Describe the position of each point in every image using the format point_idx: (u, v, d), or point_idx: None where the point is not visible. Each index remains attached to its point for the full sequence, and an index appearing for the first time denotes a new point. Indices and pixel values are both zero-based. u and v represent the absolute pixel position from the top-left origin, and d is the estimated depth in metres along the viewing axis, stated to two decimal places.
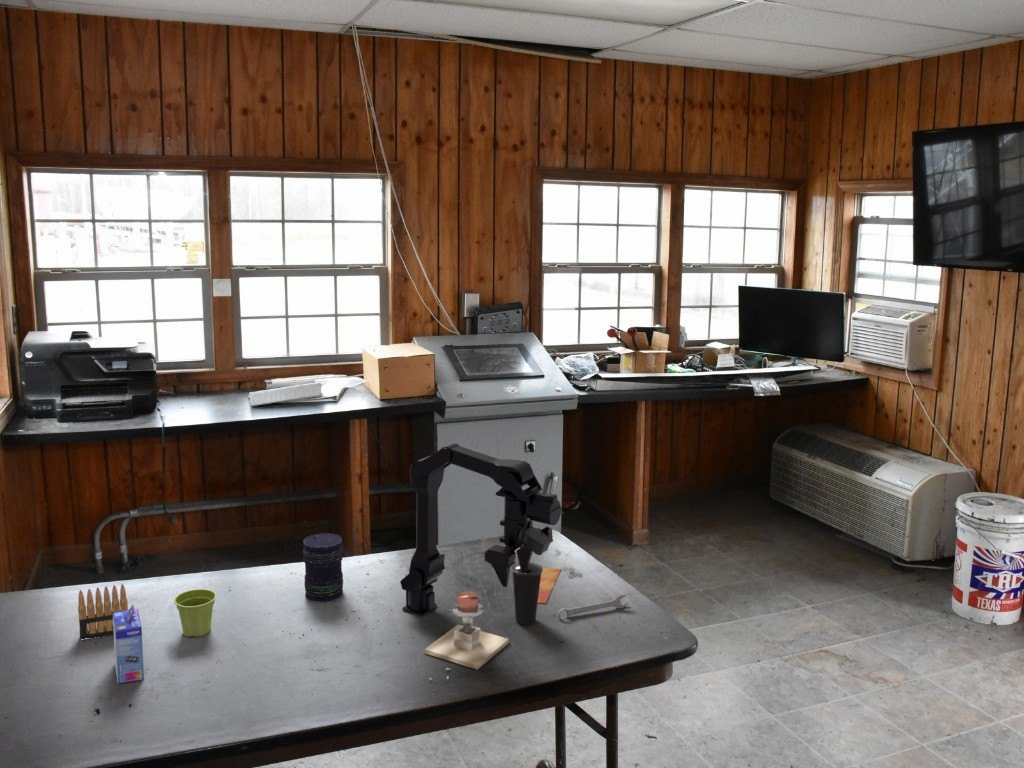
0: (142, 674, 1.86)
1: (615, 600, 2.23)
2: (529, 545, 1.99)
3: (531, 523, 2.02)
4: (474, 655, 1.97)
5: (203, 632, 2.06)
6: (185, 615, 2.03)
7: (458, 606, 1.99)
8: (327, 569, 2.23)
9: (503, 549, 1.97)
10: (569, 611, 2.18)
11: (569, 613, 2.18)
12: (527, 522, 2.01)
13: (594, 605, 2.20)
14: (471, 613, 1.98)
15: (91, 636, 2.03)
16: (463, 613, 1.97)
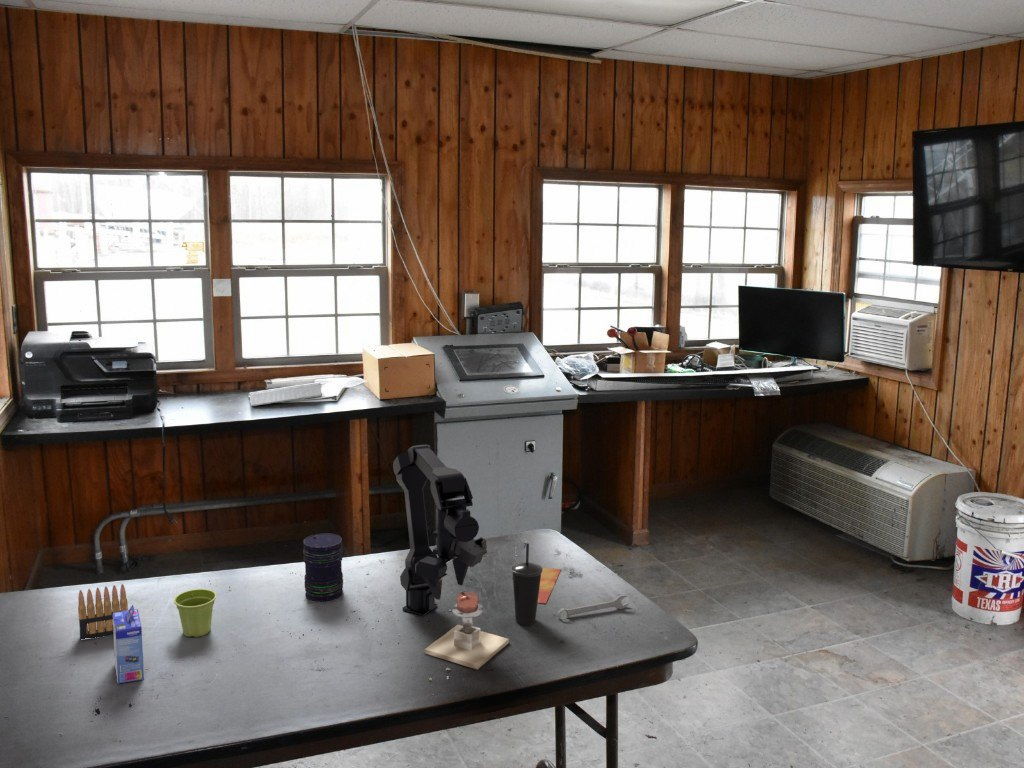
0: (142, 674, 1.86)
1: (616, 601, 2.22)
2: (461, 557, 1.95)
3: None
4: (474, 655, 1.97)
5: (203, 632, 2.06)
6: (185, 614, 2.03)
7: (458, 606, 1.99)
8: (327, 569, 2.23)
9: (434, 561, 1.93)
10: (569, 611, 2.18)
11: (569, 613, 2.18)
12: None
13: (594, 605, 2.20)
14: (471, 613, 1.98)
15: (91, 636, 2.03)
16: (463, 613, 1.97)
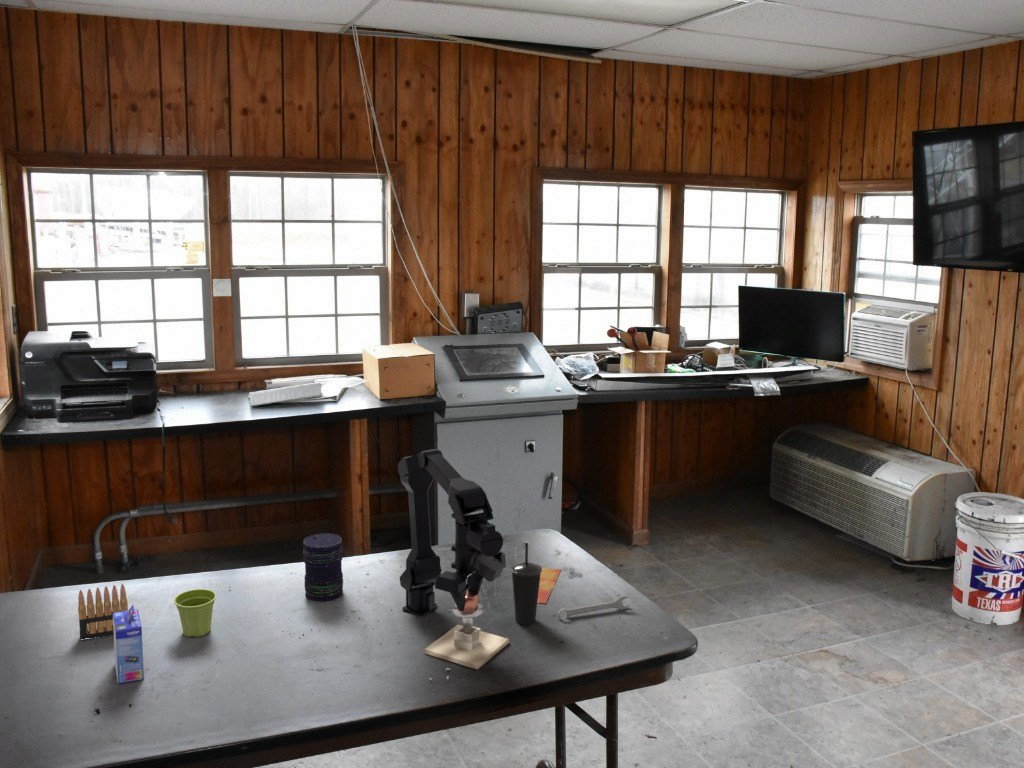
0: (142, 674, 1.86)
1: (616, 601, 2.22)
2: (480, 571, 1.94)
3: None
4: (474, 655, 1.97)
5: (203, 632, 2.06)
6: (185, 615, 2.03)
7: None
8: (327, 569, 2.23)
9: (453, 576, 1.92)
10: (569, 611, 2.17)
11: (569, 613, 2.18)
12: None
13: (595, 606, 2.20)
14: (471, 613, 1.98)
15: (91, 636, 2.03)
16: (463, 613, 1.97)
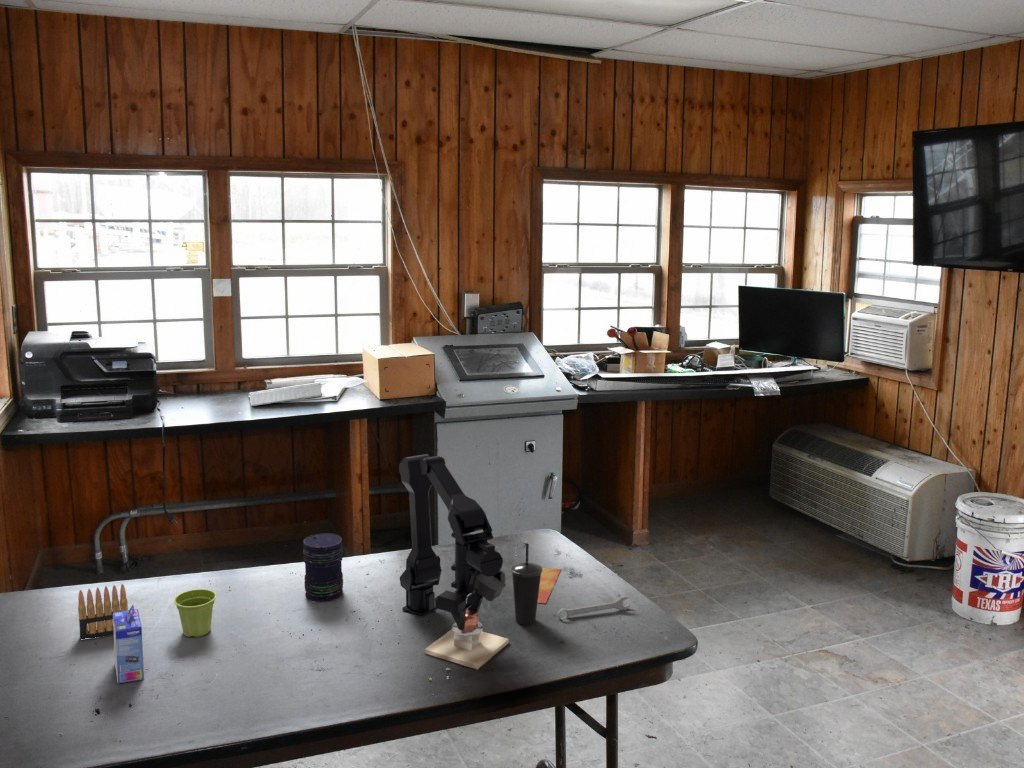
0: (142, 674, 1.86)
1: (617, 602, 2.22)
2: (480, 591, 1.94)
3: None
4: (474, 655, 1.97)
5: (203, 632, 2.06)
6: (185, 615, 2.03)
7: None
8: (327, 569, 2.23)
9: (453, 595, 1.93)
10: (569, 611, 2.17)
11: (569, 613, 2.17)
12: None
13: (595, 606, 2.20)
14: (471, 631, 1.99)
15: (91, 636, 2.03)
16: (463, 632, 1.98)
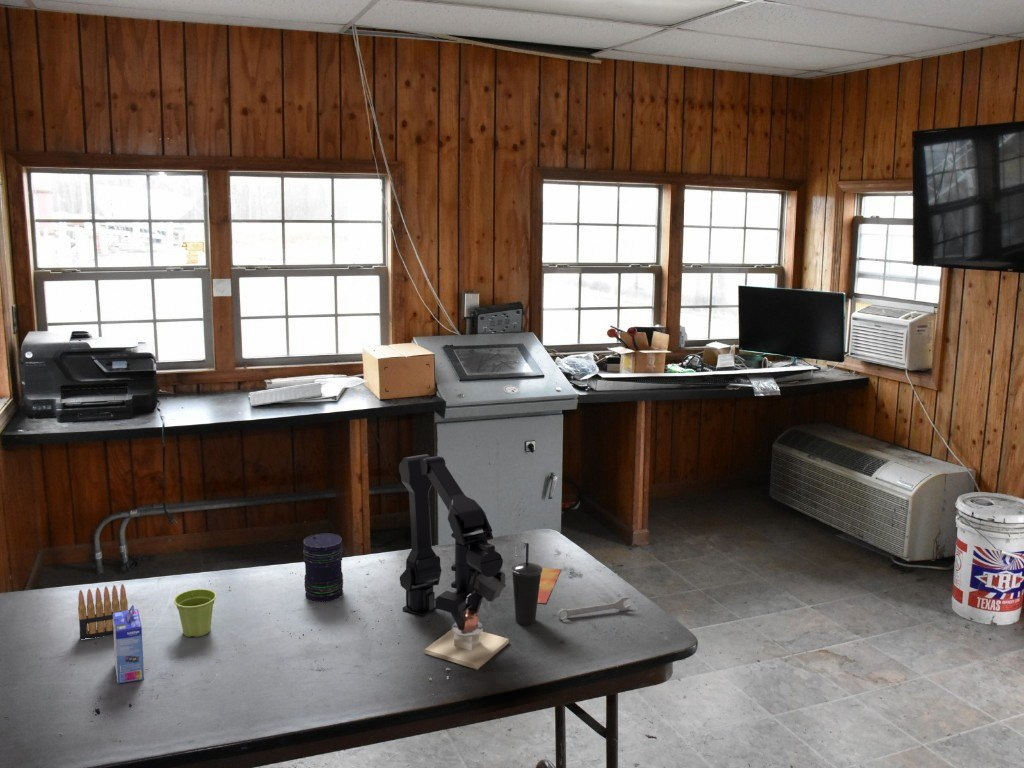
0: (142, 674, 1.86)
1: (618, 602, 2.21)
2: (480, 591, 1.94)
3: None
4: (474, 655, 1.97)
5: (203, 632, 2.06)
6: (185, 615, 2.03)
7: None
8: (327, 569, 2.23)
9: (453, 596, 1.93)
10: (569, 612, 2.17)
11: (569, 614, 2.17)
12: None
13: (595, 607, 2.20)
14: (471, 632, 1.99)
15: (91, 636, 2.03)
16: (463, 632, 1.98)
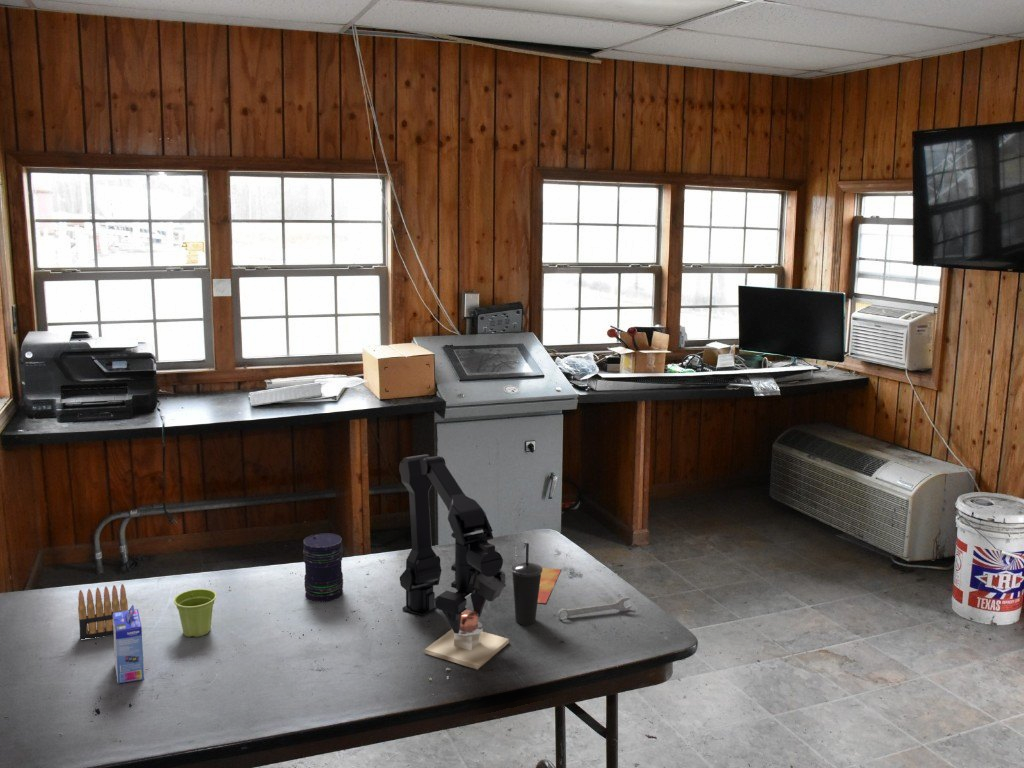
0: (142, 674, 1.86)
1: (618, 603, 2.21)
2: (480, 591, 1.94)
3: None
4: (474, 655, 1.97)
5: (203, 632, 2.06)
6: (185, 615, 2.03)
7: None
8: (327, 569, 2.23)
9: (453, 595, 1.93)
10: (569, 612, 2.17)
11: (569, 614, 2.17)
12: None
13: (596, 607, 2.19)
14: (471, 632, 1.99)
15: (91, 636, 2.03)
16: (463, 632, 1.98)
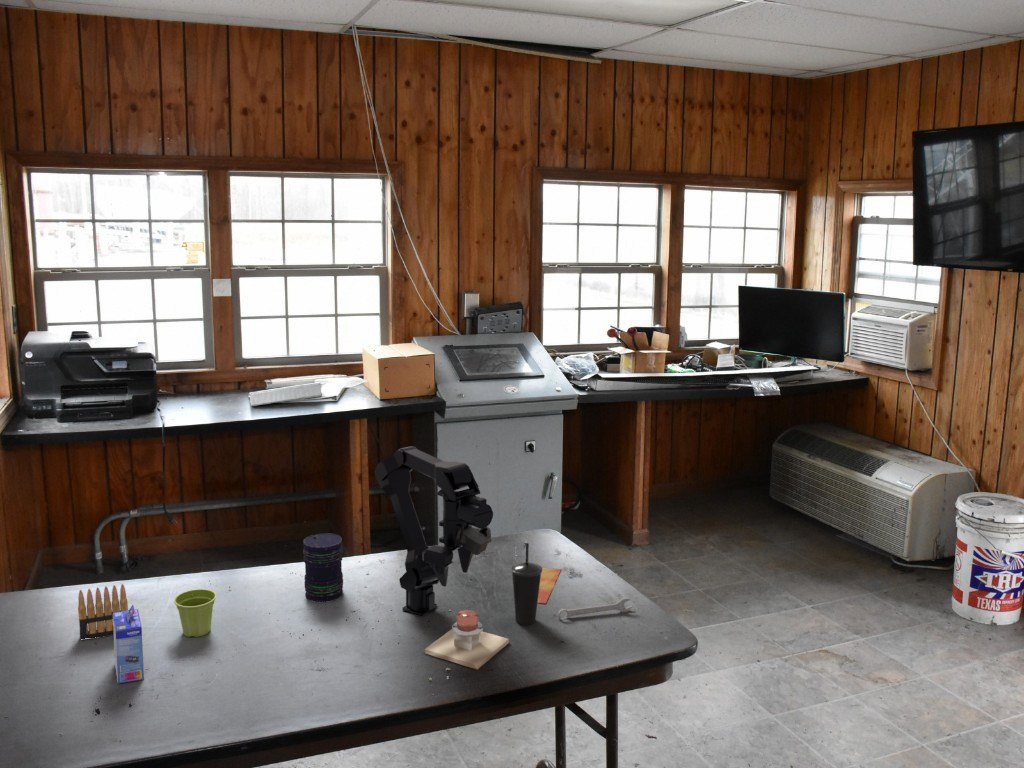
0: (142, 674, 1.86)
1: (618, 603, 2.21)
2: (467, 545, 2.03)
3: (470, 524, 2.07)
4: (474, 655, 1.97)
5: (203, 632, 2.06)
6: (185, 615, 2.03)
7: (458, 625, 2.00)
8: (327, 569, 2.23)
9: (440, 549, 2.01)
10: (569, 612, 2.17)
11: (569, 614, 2.17)
12: (465, 523, 2.05)
13: (596, 607, 2.19)
14: (471, 632, 1.99)
15: (91, 636, 2.03)
16: (463, 632, 1.98)
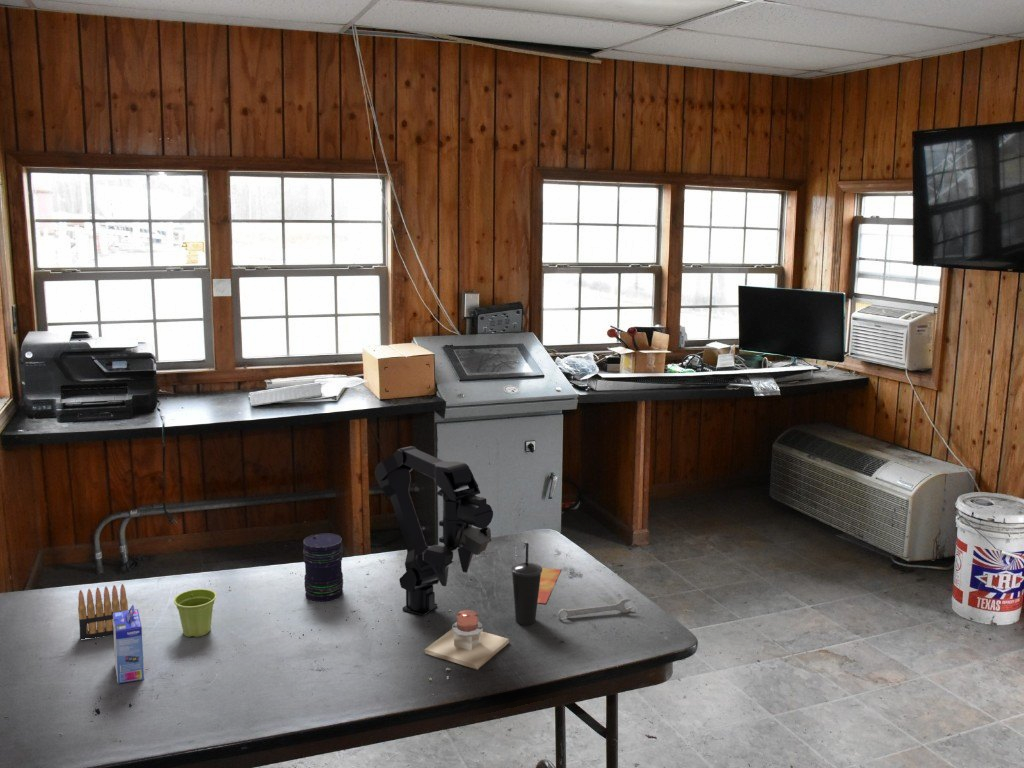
0: (142, 674, 1.86)
1: (619, 604, 2.20)
2: (467, 545, 2.03)
3: (470, 523, 2.07)
4: (474, 655, 1.97)
5: (203, 632, 2.06)
6: (185, 615, 2.03)
7: (458, 625, 2.00)
8: (327, 569, 2.23)
9: (440, 549, 2.01)
10: (569, 612, 2.17)
11: (569, 614, 2.17)
12: (465, 522, 2.05)
13: (596, 607, 2.19)
14: (471, 632, 1.99)
15: (91, 636, 2.03)
16: (463, 632, 1.98)
